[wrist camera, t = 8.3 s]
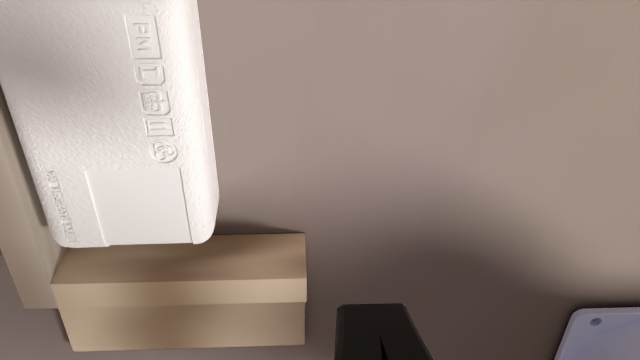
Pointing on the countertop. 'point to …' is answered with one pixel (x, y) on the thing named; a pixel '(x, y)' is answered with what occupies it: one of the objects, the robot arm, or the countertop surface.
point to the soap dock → (149, 278)
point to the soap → (112, 118)
